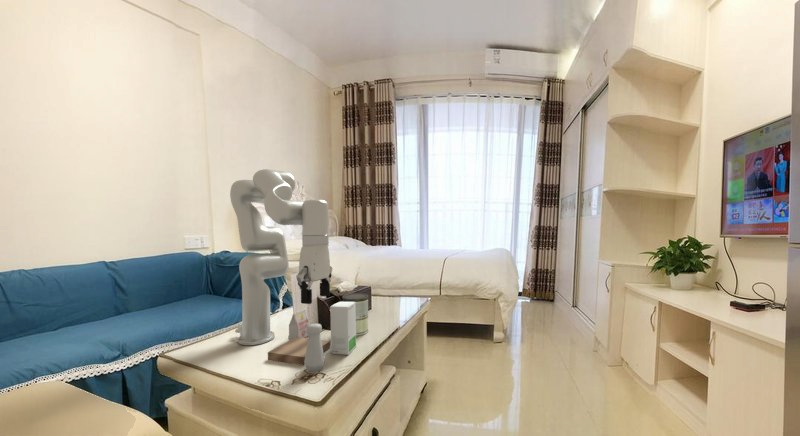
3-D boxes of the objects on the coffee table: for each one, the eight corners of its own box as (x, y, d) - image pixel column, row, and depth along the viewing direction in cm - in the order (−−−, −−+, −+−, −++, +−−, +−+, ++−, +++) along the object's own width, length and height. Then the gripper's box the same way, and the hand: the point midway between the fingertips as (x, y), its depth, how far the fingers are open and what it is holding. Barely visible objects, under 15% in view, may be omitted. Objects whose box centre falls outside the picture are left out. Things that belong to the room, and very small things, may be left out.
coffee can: (338, 335, 120) (338, 298, 120) (347, 326, 130) (346, 292, 131) (365, 336, 119) (364, 299, 119) (371, 327, 129) (371, 293, 129)
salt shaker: (305, 375, 88) (305, 329, 88) (303, 367, 93) (302, 323, 94) (326, 371, 90) (326, 326, 91) (322, 363, 96) (322, 320, 96)
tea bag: (288, 341, 115) (288, 313, 115) (300, 335, 121) (300, 309, 121) (297, 342, 113) (297, 314, 114) (308, 336, 120) (308, 310, 120)
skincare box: (348, 355, 101) (347, 307, 102) (329, 354, 103) (328, 306, 103) (356, 346, 109) (356, 301, 110) (339, 344, 111) (338, 300, 111)
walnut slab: (267, 360, 98) (267, 352, 98) (295, 344, 112) (295, 337, 112) (306, 365, 94) (306, 357, 94) (330, 348, 108) (330, 340, 108)
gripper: (320, 240, 102) (320, 293, 102) (286, 243, 86) (286, 306, 85) (340, 240, 100) (341, 294, 100) (309, 243, 84) (310, 307, 83)
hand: (316, 299), depth 93 cm, fingers open, 9 cm apart
